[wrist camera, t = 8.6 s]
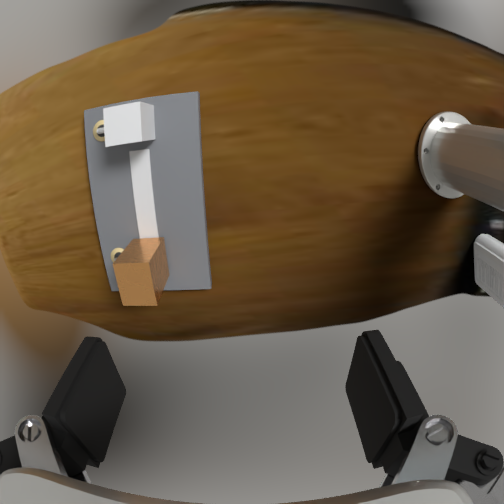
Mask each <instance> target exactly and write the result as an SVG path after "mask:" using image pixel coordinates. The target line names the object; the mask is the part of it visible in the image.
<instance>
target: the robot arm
mask: <svg viewBox="0 0 504 504" xmlns="http://www.w3.org/2000/svg"><path fill="white" fill-rule="evenodd" d="M418 161H419V166H420V170H421V173H422V176H423V178H424V180H425V182H426V184H427V185H428V186H429V187H430V189H431V190H433V191H434V192H435V193H436V194H438V195H440V196H443V197H445V198H458V197H460V196H462V195H464V194H466V195H468V196H470V197H473V198H475V199H477V200H480V201H482V202H484V203H486V204H489V205H491V206H493V207H495V208H497V209H499V210H502V211H504V129H500V128H493V127H486V126H478V125H471V124H470V122H469V121H468V120H467V119H466V118H464V117H463V116H462V115H460V114H457V113H454V112H441V113H438V114H436V115H434V116H433V117H432V118H431V119H430V120H429V121H428V122H427V123H426V125H425V126H424V128H423V130H422V133H421V135H420V140H419V145H418ZM346 393H347V396H348V399H349V402H350V406H351V409H352V412H353V415H354V419H355V422H356V425H357V428H358V432H359V435H360V438H361V442H362V445H363V449H364V452H365V455H366V459H367V461H368V463H372V464H373V468H374V469H375V468H378V467H382V466H383V467H384V471H385V473H386V475H385V477H384V479H383V481H382V483H381V484H380V486H379V488H375V489H370V490H366V491H362V492H357V493H353V494H347V495H342V496H336V497H330V498H324V499H317V500H309V501H301V502H292V503H280V504H504V464H503V456H502V454H501V452H500V451H499V450H498V449H497V448H495V447H493V446H489V445H486V444H483V443H480V442H477V441H475V440H472V439H469V438H466V437H463V436H461V435H458V430H457V426H456V425H455V423H454V422H453V421H452V420H451V419H450V418H448V417H446V416H444V415H432V416H430V417H429V415H428V413H427V411H426V409H425V407H424V405H423V403H422V401H421V399H420V397H419V395H418V393H417V392H416V389H415V388H414V386H413V384H412V382H411V380H410V378H409V376H408V374H407V372H406V370H405V369H404V367H403V365H402V364H401V362H399V361H396V360H395V358H394V357H393V354H392V353H391V351H390V349H389V347H388V345H387V343H386V342H385V340H384V338H383V336H382V335H381V333H380V331H379V330H372V331H365V332H363V333H362V335H361V336H358V338H357V342H356V346H355V350H354V354H353V358H352V362H351V366H350V370H349V374H348V378H347V382H346ZM125 395H126V389H125V386H124V384H123V382H122V380H121V378H120V375H119V373H118V371H117V369H116V366H115V364H114V362H113V360H112V357H111V355H110V353H109V350H108V348H107V345H106V343H105V342H103V341H102V339H101V338H98V337H85V338H84V340H83V342H82V343H81V345H80V347H79V348H78V350H77V352H76V353H75V355H74V357H73V358H72V360H71V362H70V363H69V365H68V367H67V369H66V370H65V372H64V374H63V376H62V378H61V379H60V381H59V382H58V385H57V386H56V388H55V390H54V392H53V394H52V395H51V397H50V399H49V401H48V403H47V405H46V407H45V409H44V411H43V412H42V414H43V416H42V418H40V417H38V416H35V415H29V416H26V417H24V418H22V419H21V420H20V421H19V422H18V424H17V425H16V428H15V436H13V437H10V438H8V439H6V440H3V441H1V442H0V504H201V503H189V502H179V501H171V500H164V499H157V498H151V497H145V496H140V495H135V494H130V493H125V492H121V491H117V490H112V489H108V488H104V487H101V486H97V485H93V484H92V483H91V481H90V479H89V477H88V475H87V473H86V471H85V468H86V465H90V466H94V467H97V468H98V467H99V465H100V462H103V461H104V458H105V455H106V452H107V449H108V446H109V442H110V439H111V436H112V433H113V430H114V427H115V424H116V421H117V418H118V415H119V412H120V409H121V406H122V404H123V401H124V398H125Z"/></svg>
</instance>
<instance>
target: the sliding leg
mask: <svg viewBox="0 0 504 504" xmlns="http://www.w3.org/2000/svg"><path fill="white" fill-rule="evenodd" d="M113 268H114V272H115V276H116V280H117V284H118V288H119V292H120V296H121V300H122V303H123V306H157V305H158V303H159V300H160V297H161V295H162V292H163V290H164V287H165V285H166V282H167V280H168V277H169V275H170V274H169V268H168V262H167V255H166V248H165V241H164V237H157V238H140V239H133V240H132V241H131V242H130V243H129V244H128V246H127V247H126V248H125V249H124V250H123V252H122V253H121V254H120V255H119V256H118V257H117V258H114V263H113Z"/></svg>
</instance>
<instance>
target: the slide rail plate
mask: <svg viewBox="0 0 504 504" xmlns="http://www.w3.org/2000/svg"><path fill="white" fill-rule="evenodd" d="M84 122H85V138H86V151H87V161H88V170H89V179H90V186H91V193H92V200H93V206H94V213H95V218H96V224H97V229H98V234H99V239H100V244H101V249H102V254H103V258H104V262H105V267H106V271H107V275H108V279H109V283H110V286H111V290H112V291H119V288H118V284H117V280H116V276H115V272H114V268H113V263H114V258H117V257H118V256H119V255H120V254H121V253H122V252H123V250H124V249H125V248H126V247H127V246H128V244H129V243H130V242H131V241H132V240H133V239H140V238H157V237H164V241H165V248H166V255H167V262H168V268H169V274H170V275H169V277H168V280H167V282H166V285H165V287H164V290H194V289H211V285H212V281H211V270H210V260H209V248H208V237H207V224H206V211H205V197H204V182H203V165H202V146H201V124H200V94H199V92H188V93H179V94H170V95H163V96H156V97H149V98H143V99H137V100H131V101H125V102H120V103H115V104H110V105H106V106H101V107H97V108H93V109H89V110H84Z"/></svg>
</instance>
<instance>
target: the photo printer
mask: <svg viewBox="0 0 504 504" xmlns="http://www.w3.org/2000/svg"><path fill="white" fill-rule="evenodd" d="M474 270H475V282H476V284H477V285H478V286H480V287H481V288H482V289H483V290H484V291H485V292H487V293H488V294H489V295H490V296H491V297H492V298H493V299H495V300H496V301H497V302H498V303H499V304H500V305H501V306H502V307H503V308H504V244H503V243H502V242H500V241H498V240H497V239H495V238H493V237H492V236H490V235H488V234H486V235H485V234H480V235H479V236H478V237H477V238H476V239H475V242H474Z"/></svg>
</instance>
